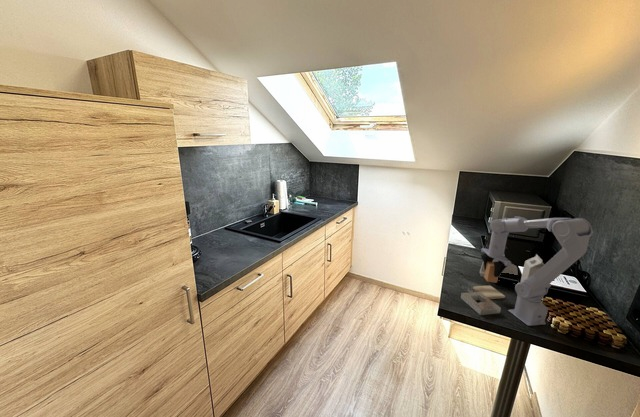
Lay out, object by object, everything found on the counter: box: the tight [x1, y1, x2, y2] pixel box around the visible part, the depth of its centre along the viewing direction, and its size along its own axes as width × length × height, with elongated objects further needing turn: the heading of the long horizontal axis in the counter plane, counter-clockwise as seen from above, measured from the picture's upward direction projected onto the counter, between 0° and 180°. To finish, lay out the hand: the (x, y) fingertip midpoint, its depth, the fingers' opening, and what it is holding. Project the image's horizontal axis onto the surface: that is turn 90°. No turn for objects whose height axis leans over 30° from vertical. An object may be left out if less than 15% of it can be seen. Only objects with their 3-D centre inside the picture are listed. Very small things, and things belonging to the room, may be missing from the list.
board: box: [472, 284, 506, 300], centre depth 122 cm, size 9×9×1 cm
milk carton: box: [520, 253, 546, 299], centre depth 119 cm, size 7×7×19 cm
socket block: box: [460, 291, 502, 316], centre depth 113 cm, size 12×9×2 cm
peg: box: [483, 262, 499, 284], centre depth 119 cm, size 4×4×8 cm
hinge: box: [478, 259, 519, 278], centre depth 136 cm, size 17×5×10 cm, turn 64°
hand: (491, 273), depth 119 cm, fingers closed on peg, 5 cm apart
